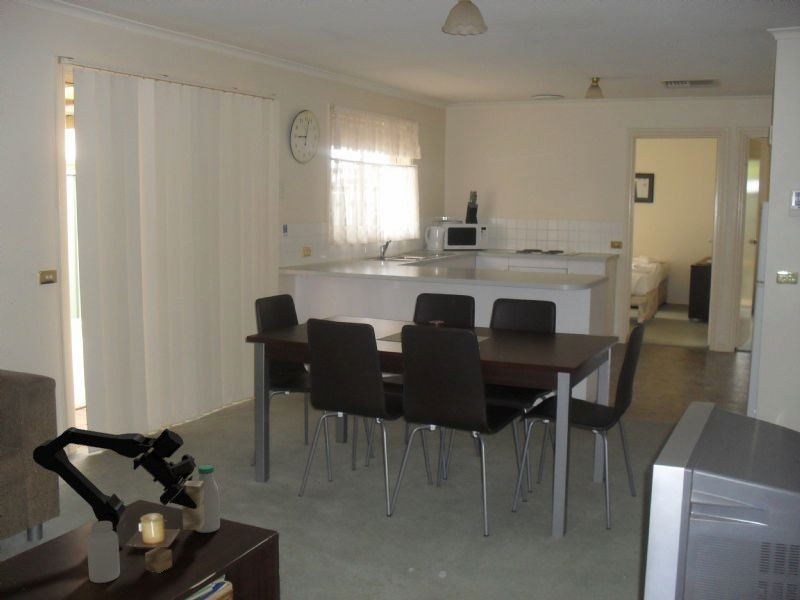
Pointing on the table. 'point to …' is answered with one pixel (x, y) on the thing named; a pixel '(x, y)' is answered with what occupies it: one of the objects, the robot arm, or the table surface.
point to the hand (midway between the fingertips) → (198, 504)
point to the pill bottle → (103, 553)
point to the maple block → (195, 517)
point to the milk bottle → (210, 500)
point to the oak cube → (158, 559)
